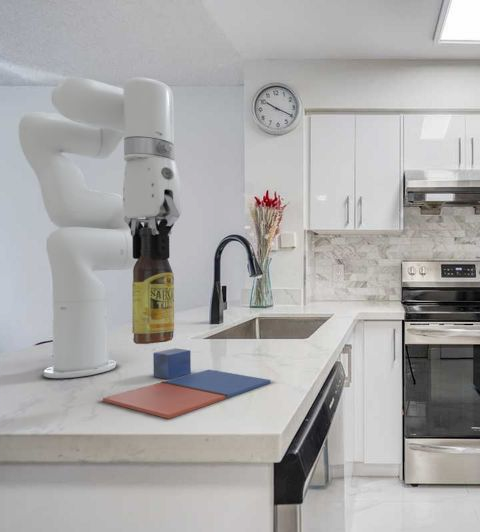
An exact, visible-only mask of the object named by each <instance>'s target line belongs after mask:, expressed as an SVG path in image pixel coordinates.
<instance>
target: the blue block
mask: <svg viewBox="0 0 480 532" xmlns="http://www.w3.org/2000/svg"><path fill="white" fill-rule="evenodd" d="M152 361H153V362H152V363H153V377H154V378H158V379H159V378H160V379H165V380H172V379H175V378H179V377H183V376H187V375H190V374H192V372H191V371H192V370H191V369H192V367H191V366H192V365H191V363H192V362H191V361H192V360H191V349H182V348H177V347H176V348H170V349H165V350H161V351H155V352H153V359H152Z"/></svg>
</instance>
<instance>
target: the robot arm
mask: <svg viewBox="0 0 480 532" xmlns="http://www.w3.org/2000/svg"><path fill="white" fill-rule="evenodd" d="M50 96H51V102H52V105H53V107H54V109H56V111H57V112H58V113H54V112H47V111H32V112H27V113H25V114H24V115H23V116H22V117H21V119H20V120H19V124H18V139H19V144H20V148H21V150H22V151H21V152H22V153H23V156H24V157H25V159H26V161H27V163H28V164H29V166H30V167H31V169H32V171H33V172H34V175H35V176H36V178H37V181H38V186H39V189H40V194H41V197H42V201H43V202H42V203H43V206H44V209H45V213H46V216H47V219H48V220H49V223H51V224H52V225H53V226H55V227H57V228H55V229H54V230H52V231H51V232H50V233H49V234H48V235H47V237H46V239H45V253H46V257H47V262H48V267H49V273H50V282H51V304H52V305H51V306H52V307H51V308H52V309H51V311H52V313H51V315H52V356H51V357H52V366H49V367H47V368H45V369H44V370H43V377H44V378H47V379H73V378H82V377H87V376H93V375H98V374H102V373H106V372H109V371H112V370H114V369H115V368H116V367H117V361H116V360H113V359H109V352H108V351H109V349H108V348H109V347H108V345H109V344H108V343H109V342H108V341H109V340H108V339H109V338H108V292H107V288H106V286H105V284H104V283H103V282H102V281H101V279H99V277H98V276H97V275H96V274H95V273H94V272H98V271H123V270H124V271H126V270H132V269H133V268H134V266H135V264H136V261H137V260H138V259H139V258H140V256H141V237H140V229H141V228H151V229H152V234H153V235H149V243H150V258H151V259H168V260H169V259H170V255H171V254H170V236H171V235H172V229H173V227H174V225H175V223H176V222H177V221H178V220H179V218H180V217H181V215H182V206H183V205H182V192H181V191H182V190H181V182H180V174H179V170H178V166H177V161H175V99H174V92H173V90H172V88H171V87H170V86H169V85H168V84H166V83H165V82H162V81H160V80H157V79H154V78H149V77H142V76H141V77H140V76H138V77H137V76H135V77H130V78H128V79H127V80H126V81H125V82H124V84H123V88H122V87H119V86H115V85H112V84H109V83H105V82H102V81H99V80H94V79H91V78H87V77H82V76H81V77H80V76H73V75H71V76H68V77H67V78H66V79H65V80H64V81H63V82H60V83H58V84H57V85H56V86H55V87H54V88H53V90H52V91H51V95H50ZM122 141H123V155H124V156H123V159H124V161H125V167H124V174H123V186H122V187H123V188H122V195H121V194H118V193H116V192H115V193H114V192H109V191H101V190H95V189H91V188H89V187H88V186H87V183H86V178H85V175H84V174H83V172H82V170H81V169H80V168H79V167H78V166H77V165H76V164H75V163H74V162H73V161H72V160H70V158H67V156H65V155H64V154H68V155H74V156H79V157H86V158H91V159H98V160H106V159H109V158H110V157H111V156H113V155H114V153H115V152H116V150H117V149H118V147H119V145H120V144H121V143H122Z"/></svg>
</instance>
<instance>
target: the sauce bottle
mask: <svg viewBox="0 0 480 532" xmlns="http://www.w3.org/2000/svg"><path fill="white" fill-rule="evenodd" d="M149 235H153V234H152V229H151V228H141V229H140V237H141V256H140V258H139V259H138V260H137V261H136V264H135V266H134V268H132V269H133V270H132V291H131V292H132V321H131V322H132V329H131V330H132V334H133V339H132V340H133V343H134V344H137V345H149V344H160V343H165V342H170V341H172V340H173V338H174V331H175V280H174V279H175V276H174V275H175V274H174V272H173V269H172V266H171V264H170V262H169V258H168V259H151V258H150V243H149Z"/></svg>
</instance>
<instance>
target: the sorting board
mask: <svg viewBox="0 0 480 532" xmlns="http://www.w3.org/2000/svg"><path fill="white" fill-rule="evenodd" d="M271 381H272V380H271V379H267V378H261V377H257V376H256V377H255V376H249V375H244V374H238V373H232V372H225V371H219V370H215V369H214V370H213V369H206V370H205V369H204V370H202V371H198V372H194V373H191V374H187V375H183V376H180V377H176V378H172V379H167V380H163V381H159V382H157V383H154V384H153V383H152V384H150V385H146V386H142V387H138V388H135V389H131V390H127V391H123V392H120V393H116V394H111V395H109V396H105V397H102V402H104V403H107V404H111V405H115V406H120V407H123V408H126V409H130V410H133V411H138V412H142V413H146V414H149V415H153V416H157V417H160V418H164V419H167V420H170V419H172V418H176V417H179V416H182V415H184V414H187V413H190V412H193V411H196V410H198V409H201V408H204V407H207V406H209V405H212V404H215V403H218V402H221V401H224V400H227V399H229V398H232V397H235V396H237V395H240V394H243V393H246V392H248V391H251V390H254V389H257V388H260V387H263V386H266V385H268V384H271Z"/></svg>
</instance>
